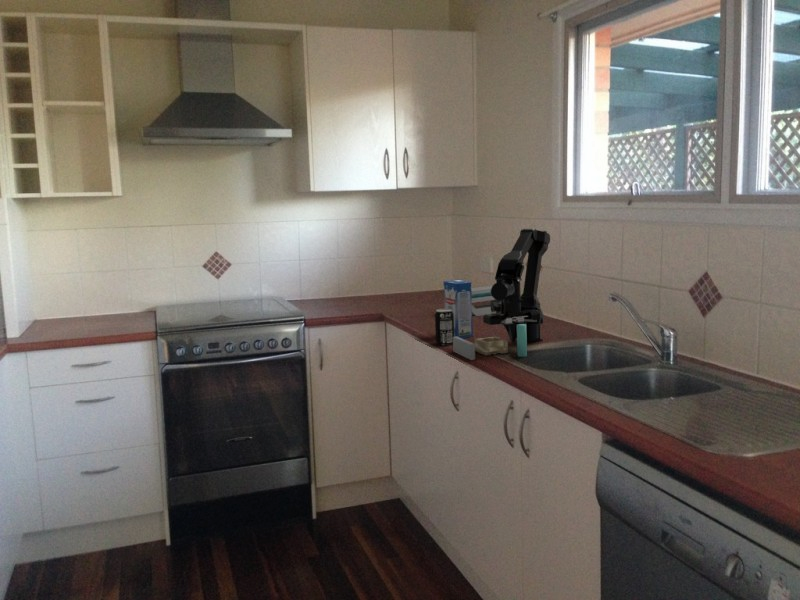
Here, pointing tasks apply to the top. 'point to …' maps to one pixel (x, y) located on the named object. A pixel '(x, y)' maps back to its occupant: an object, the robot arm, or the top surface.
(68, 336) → the top surface
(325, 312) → the top surface
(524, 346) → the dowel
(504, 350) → the sliding block
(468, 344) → the wall
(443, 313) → the beverage can
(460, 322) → the milk carton
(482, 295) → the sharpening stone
